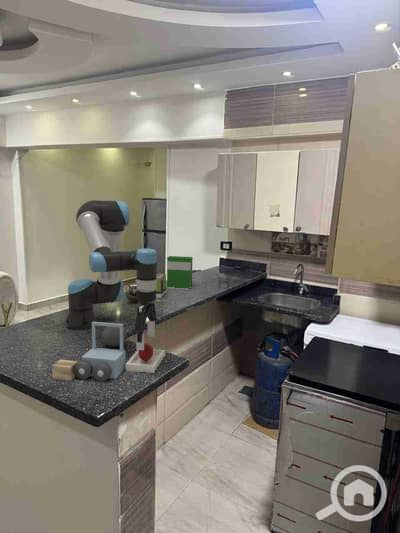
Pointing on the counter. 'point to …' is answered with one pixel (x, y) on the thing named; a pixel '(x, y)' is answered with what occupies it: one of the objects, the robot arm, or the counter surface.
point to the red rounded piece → (146, 352)
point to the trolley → (102, 359)
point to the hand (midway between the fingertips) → (145, 342)
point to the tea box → (160, 285)
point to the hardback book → (179, 272)
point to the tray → (141, 366)
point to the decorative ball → (113, 336)
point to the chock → (64, 370)
